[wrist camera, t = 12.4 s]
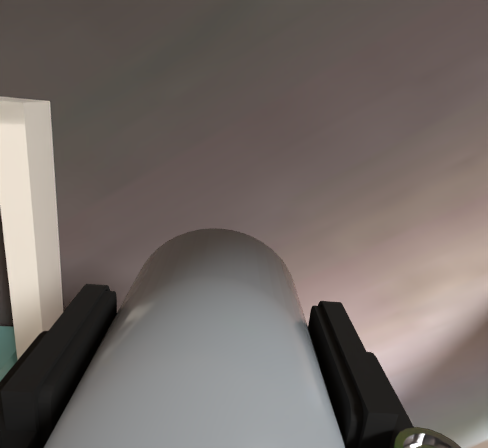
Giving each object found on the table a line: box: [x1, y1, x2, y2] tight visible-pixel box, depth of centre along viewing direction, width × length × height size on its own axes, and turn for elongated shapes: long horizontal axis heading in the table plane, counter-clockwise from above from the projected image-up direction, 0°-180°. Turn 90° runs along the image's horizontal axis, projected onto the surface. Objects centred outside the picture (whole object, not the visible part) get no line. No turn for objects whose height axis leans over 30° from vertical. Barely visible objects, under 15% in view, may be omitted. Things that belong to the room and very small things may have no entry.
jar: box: [44, 229, 345, 448], centre depth 8 cm, size 5×5×9 cm
